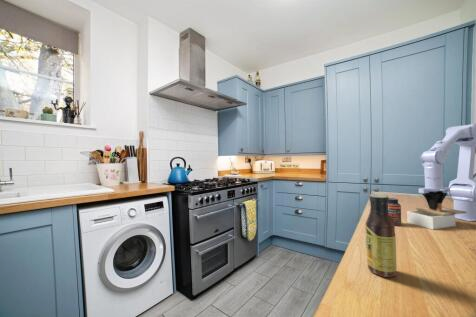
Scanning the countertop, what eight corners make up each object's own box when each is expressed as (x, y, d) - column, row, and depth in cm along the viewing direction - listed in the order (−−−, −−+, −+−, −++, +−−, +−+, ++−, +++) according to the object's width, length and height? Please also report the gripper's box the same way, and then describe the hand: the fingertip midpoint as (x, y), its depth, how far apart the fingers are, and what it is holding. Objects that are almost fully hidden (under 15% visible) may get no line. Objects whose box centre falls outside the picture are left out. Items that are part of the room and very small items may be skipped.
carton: (428, 220, 92) (427, 209, 92) (455, 226, 82) (455, 214, 82) (407, 222, 89) (406, 211, 90) (433, 229, 80) (432, 217, 80)
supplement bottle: (388, 225, 86) (387, 199, 86) (382, 221, 92) (381, 197, 92) (404, 226, 84) (403, 200, 84) (397, 222, 90) (396, 197, 90)
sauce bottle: (368, 263, 55) (365, 192, 56) (397, 270, 51) (394, 194, 52) (365, 273, 50) (362, 196, 51) (396, 282, 46) (393, 198, 47)
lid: (437, 207, 93) (436, 199, 93) (466, 213, 83) (465, 203, 83) (416, 209, 91) (415, 200, 91) (443, 215, 81) (443, 205, 81)
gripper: (431, 179, 81) (432, 212, 81) (457, 177, 84) (459, 209, 84) (412, 178, 88) (414, 208, 88) (438, 176, 91) (439, 206, 91)
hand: (434, 208), depth 86 cm, fingers closed on lid, 2 cm apart
